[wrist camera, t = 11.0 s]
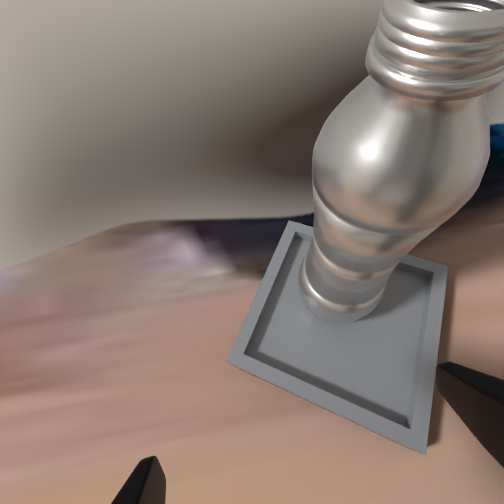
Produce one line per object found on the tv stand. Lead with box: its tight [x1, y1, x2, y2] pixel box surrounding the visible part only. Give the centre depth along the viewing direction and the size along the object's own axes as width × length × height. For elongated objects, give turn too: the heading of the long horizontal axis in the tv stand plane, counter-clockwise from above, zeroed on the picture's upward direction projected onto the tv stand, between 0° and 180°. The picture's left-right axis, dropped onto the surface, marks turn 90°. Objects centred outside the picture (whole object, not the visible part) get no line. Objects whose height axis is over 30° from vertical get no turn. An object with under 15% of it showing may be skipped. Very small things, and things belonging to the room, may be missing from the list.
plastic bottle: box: [298, 0, 504, 324], centre depth 15 cm, size 6×7×20 cm
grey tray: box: [226, 221, 448, 455], centre depth 22 cm, size 14×14×2 cm
